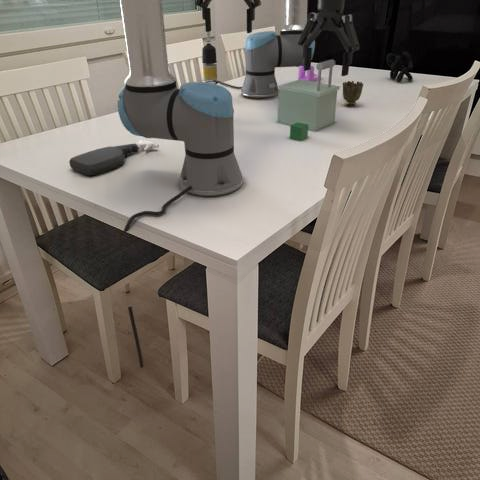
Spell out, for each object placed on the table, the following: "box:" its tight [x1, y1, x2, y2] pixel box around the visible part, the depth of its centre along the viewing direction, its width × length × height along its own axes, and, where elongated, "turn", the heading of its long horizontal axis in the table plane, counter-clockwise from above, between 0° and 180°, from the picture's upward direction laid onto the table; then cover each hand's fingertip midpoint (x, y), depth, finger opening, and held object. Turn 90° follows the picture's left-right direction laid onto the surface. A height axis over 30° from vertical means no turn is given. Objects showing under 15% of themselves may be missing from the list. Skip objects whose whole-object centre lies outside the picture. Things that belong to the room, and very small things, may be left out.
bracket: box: [297, 65, 318, 82], centre depth 202 cm, size 13×6×7 cm, turn 143°
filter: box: [201, 31, 219, 85], centre depth 171 cm, size 6×6×30 cm
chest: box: [277, 88, 338, 132], centre depth 148 cm, size 15×12×11 cm
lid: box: [278, 59, 341, 97], centre depth 142 cm, size 16×12×9 cm
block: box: [289, 122, 309, 142], centre depth 137 cm, size 4×4×4 cm
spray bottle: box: [68, 139, 160, 177], centre depth 124 cm, size 3×11×24 cm
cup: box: [342, 80, 364, 107], centre depth 165 cm, size 7×7×8 cm
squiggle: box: [385, 51, 414, 83], centre depth 198 cm, size 11×10×15 cm
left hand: (228, 32), depth 139 cm, fingers open, 13 cm apart
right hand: (325, 72), depth 139 cm, fingers open, 13 cm apart
